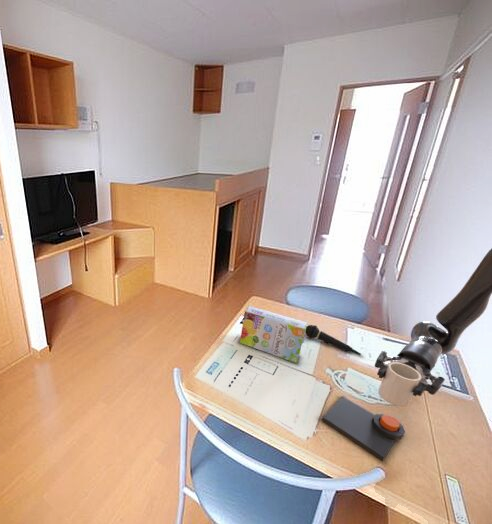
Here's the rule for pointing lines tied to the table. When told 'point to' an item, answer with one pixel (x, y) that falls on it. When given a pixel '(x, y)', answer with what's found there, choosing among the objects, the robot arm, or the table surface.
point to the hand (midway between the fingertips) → (397, 383)
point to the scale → (362, 427)
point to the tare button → (389, 423)
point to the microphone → (327, 338)
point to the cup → (399, 384)
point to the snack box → (273, 333)
